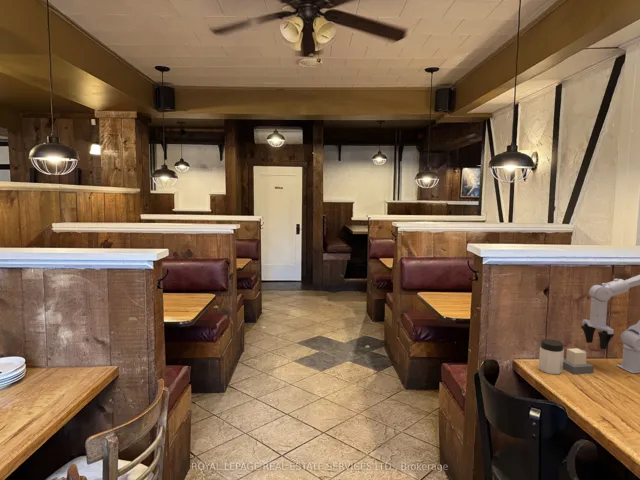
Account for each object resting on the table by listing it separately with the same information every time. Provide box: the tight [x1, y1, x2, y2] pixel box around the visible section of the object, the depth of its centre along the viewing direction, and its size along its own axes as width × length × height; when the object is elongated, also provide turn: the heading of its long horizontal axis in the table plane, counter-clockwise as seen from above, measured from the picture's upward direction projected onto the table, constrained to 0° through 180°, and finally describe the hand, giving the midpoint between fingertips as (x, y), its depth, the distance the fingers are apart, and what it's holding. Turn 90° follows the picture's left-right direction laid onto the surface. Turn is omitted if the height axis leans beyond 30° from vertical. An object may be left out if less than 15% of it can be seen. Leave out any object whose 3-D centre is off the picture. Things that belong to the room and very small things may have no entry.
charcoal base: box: [563, 358, 594, 375], centre depth 174 cm, size 9×9×4 cm
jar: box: [538, 338, 565, 375], centre depth 173 cm, size 9×8×12 cm
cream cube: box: [566, 347, 588, 365], centre depth 174 cm, size 5×5×5 cm
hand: (596, 345), depth 176 cm, fingers open, 7 cm apart
